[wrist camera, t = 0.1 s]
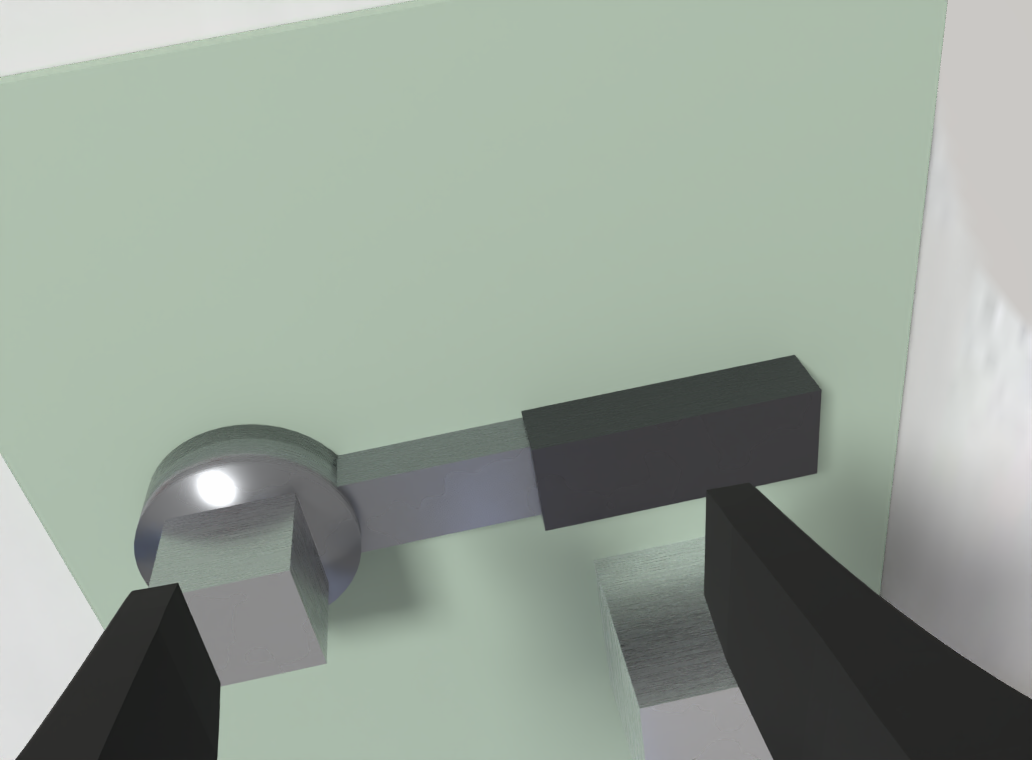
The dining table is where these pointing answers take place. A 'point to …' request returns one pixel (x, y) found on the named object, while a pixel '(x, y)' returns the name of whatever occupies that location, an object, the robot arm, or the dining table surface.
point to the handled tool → (441, 495)
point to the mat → (459, 303)
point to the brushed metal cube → (671, 659)
